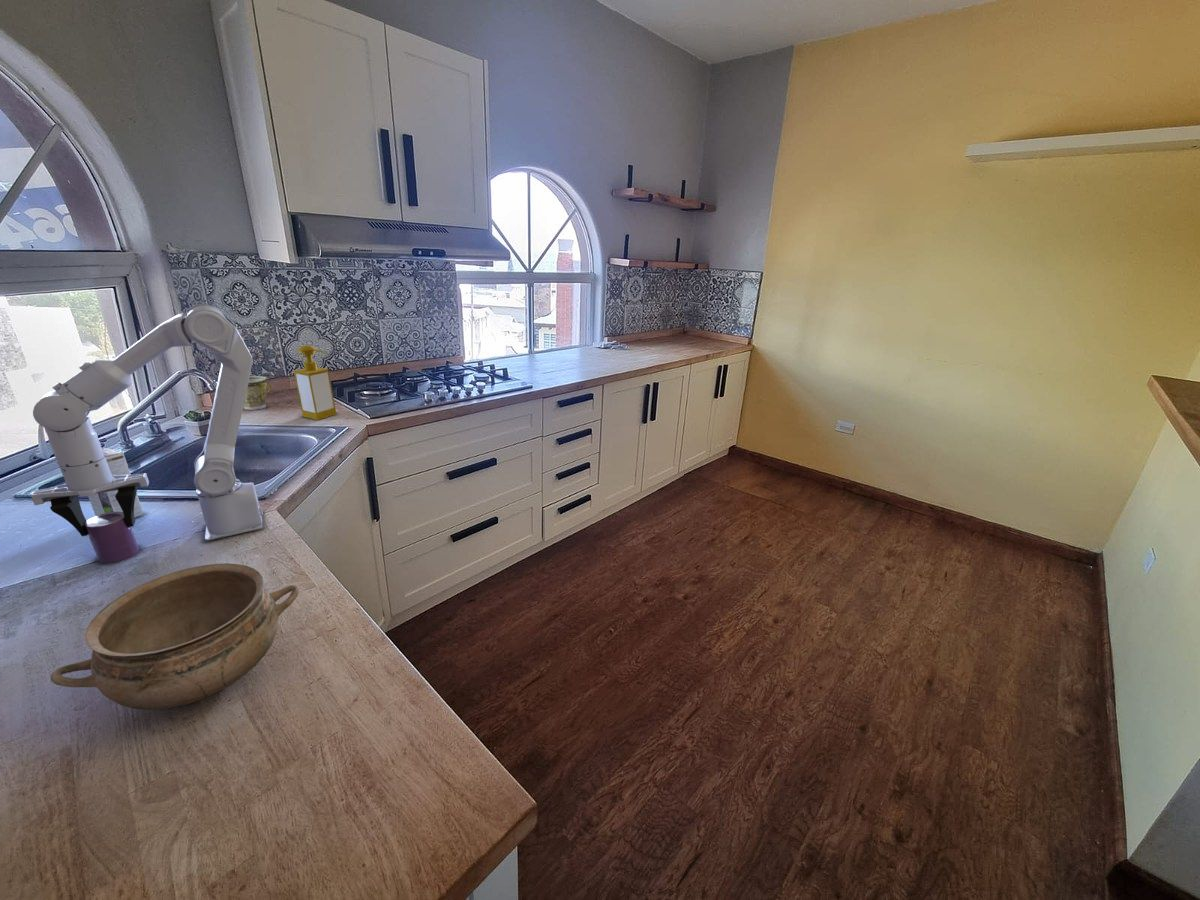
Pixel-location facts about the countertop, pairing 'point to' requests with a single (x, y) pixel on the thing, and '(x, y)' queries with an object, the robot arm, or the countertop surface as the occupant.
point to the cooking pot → (180, 637)
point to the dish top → (106, 525)
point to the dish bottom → (117, 553)
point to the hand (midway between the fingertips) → (109, 529)
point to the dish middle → (113, 541)
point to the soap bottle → (314, 387)
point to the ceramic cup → (256, 393)
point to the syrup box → (107, 499)
